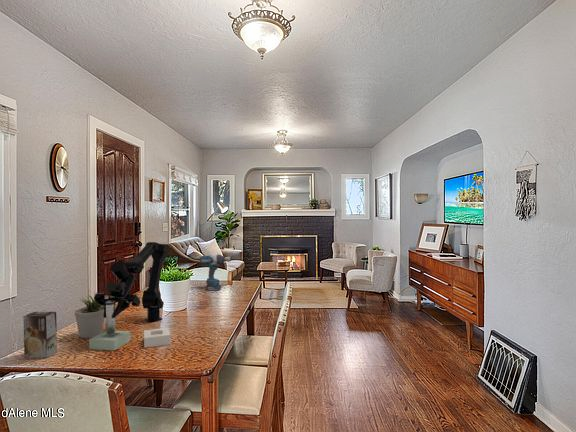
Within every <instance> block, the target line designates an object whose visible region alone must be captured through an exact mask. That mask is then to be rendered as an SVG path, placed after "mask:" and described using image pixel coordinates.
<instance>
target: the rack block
mask: <svg viewBox="0 0 576 432" xmlns="http://www.w3.org/2000/svg"><path fill="white" fill-rule="evenodd" d="M131 334H132V333H131V331H130V330H115V333H112V334H107V333H106V330H103V331H102V333H100V334H98V335H97V336H95V337H92V338H88V339H89V340H88V341H89V350H99V351H114V350H115V351H116V350H118V349H119V348H121V347H123V346H124V345H126V344H127V343H129V342H131Z"/></svg>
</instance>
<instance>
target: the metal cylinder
mask: <svg viewBox="0 0 576 432" xmlns="http://www.w3.org/2000/svg"><path fill="white" fill-rule="evenodd" d="M115 309H116V302H115V300H109V301H106V318H105V331H106V333H107V334H112V333H115V331H116V317H115V318H112V315H113V313H114V311H115Z"/></svg>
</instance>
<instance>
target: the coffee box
mask: <svg viewBox="0 0 576 432" xmlns="http://www.w3.org/2000/svg"><path fill="white" fill-rule="evenodd" d="M22 318H23V352H24V357H23V358H24V359H42V358H45V359H48V358H49V357H51V356H53V355H54V354H56V353H58V337H57V334H58V330H57V329H58V328H57V325H58V324H57V311H34V312H31V313H28V314H26V315H24V316H23V317H22Z"/></svg>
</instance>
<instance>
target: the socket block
mask: <svg viewBox="0 0 576 432" xmlns="http://www.w3.org/2000/svg"><path fill="white" fill-rule="evenodd" d="M170 333H171V332H170V329H169V327H160V328H154V329H153V328H152V329H146V330H145V329H144V330H143V340H144V341H143V348H144V349H146V348H147V347H148V348H152V347H153V348H154V347H160V346H168V345H171V334H170Z"/></svg>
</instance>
